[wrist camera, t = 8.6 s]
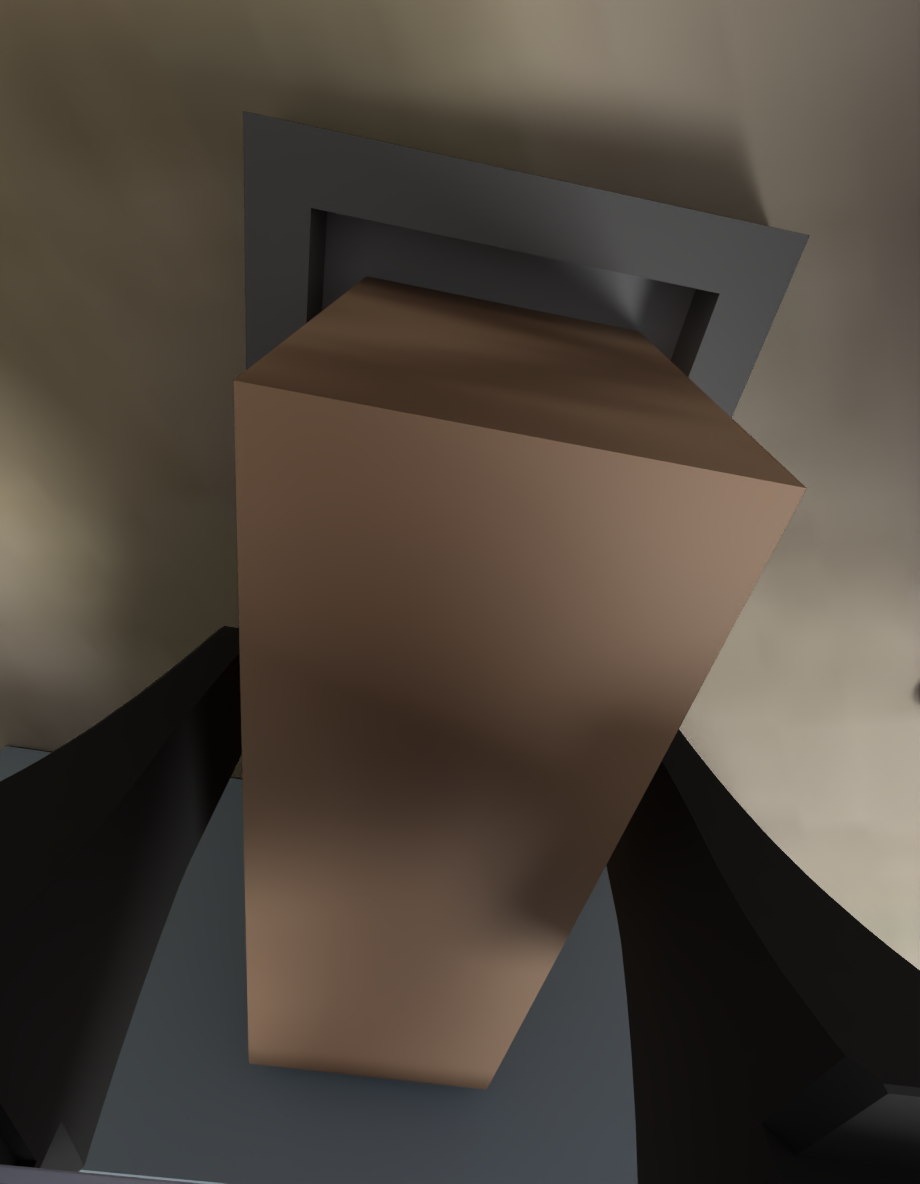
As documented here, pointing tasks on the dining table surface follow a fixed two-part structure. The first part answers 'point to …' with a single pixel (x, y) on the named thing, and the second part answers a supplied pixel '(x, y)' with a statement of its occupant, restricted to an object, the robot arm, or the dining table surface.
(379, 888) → the brown wooden block
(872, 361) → the dining table surface
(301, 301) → the wall board
